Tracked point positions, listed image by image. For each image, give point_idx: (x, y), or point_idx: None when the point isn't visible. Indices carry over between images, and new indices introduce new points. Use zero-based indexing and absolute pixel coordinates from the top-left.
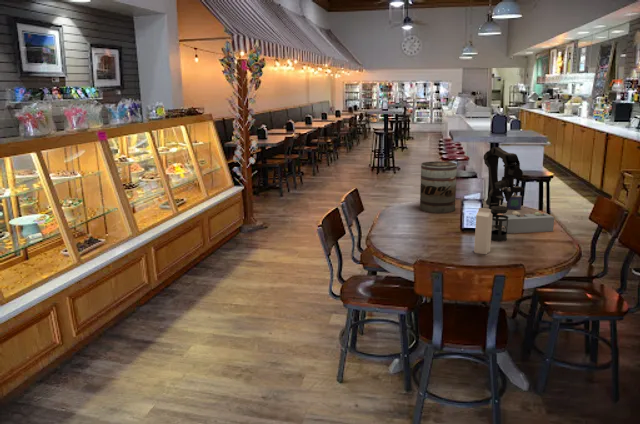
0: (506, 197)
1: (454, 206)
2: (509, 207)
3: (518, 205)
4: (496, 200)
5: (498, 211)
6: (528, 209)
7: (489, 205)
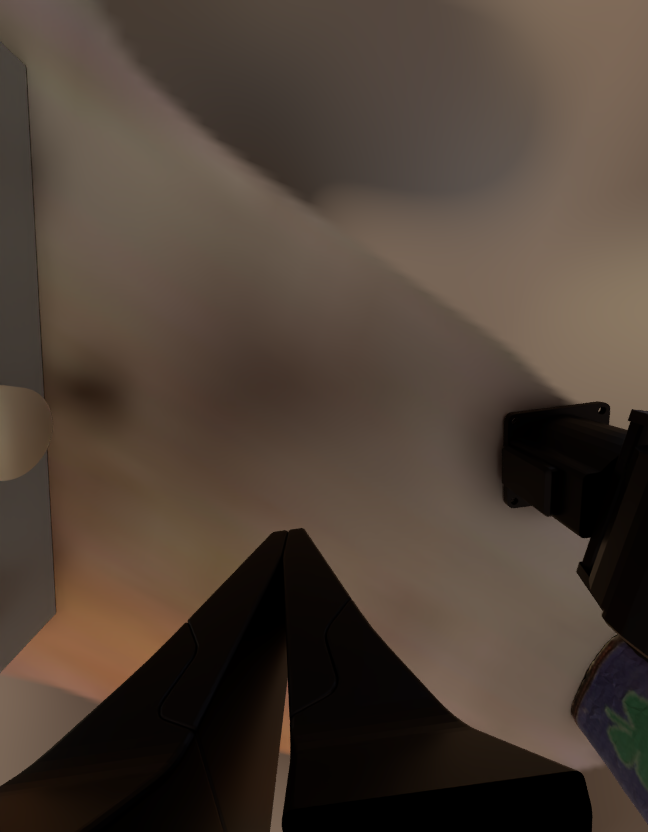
0: (258, 587)
1: None
2: (626, 664)
3: (606, 741)
4: (638, 513)
5: None
6: None
7: (632, 409)
